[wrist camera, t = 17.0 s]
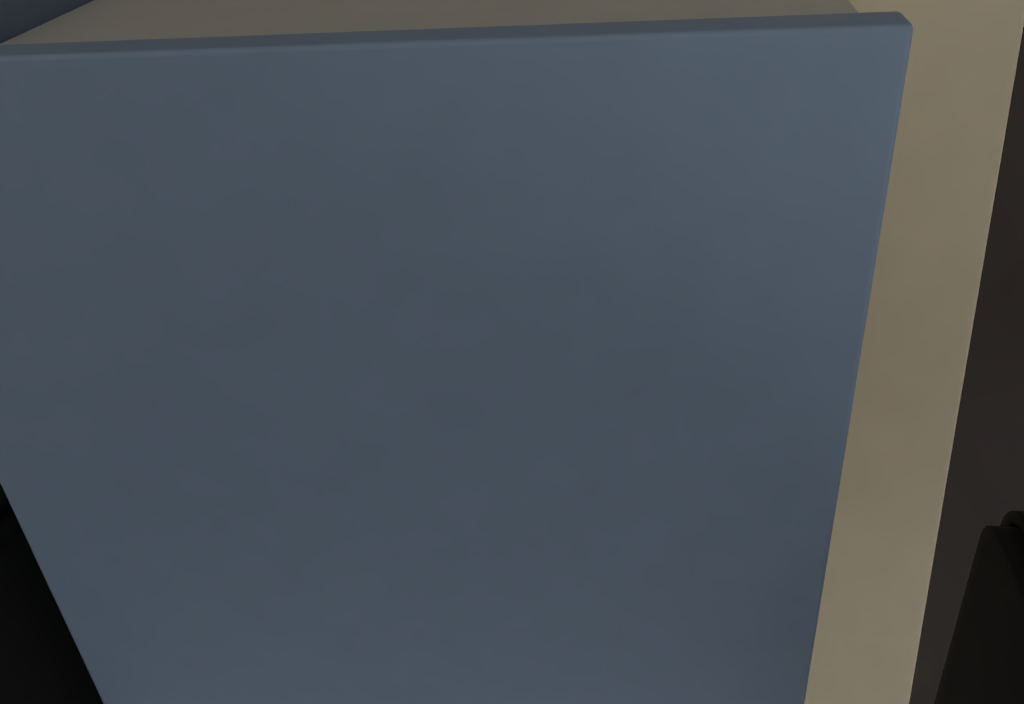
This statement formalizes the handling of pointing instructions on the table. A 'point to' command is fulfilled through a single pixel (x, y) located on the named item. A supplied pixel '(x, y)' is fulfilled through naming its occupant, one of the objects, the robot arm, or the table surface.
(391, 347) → the grey blue book
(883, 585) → the cream hardcover
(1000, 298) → the table surface
